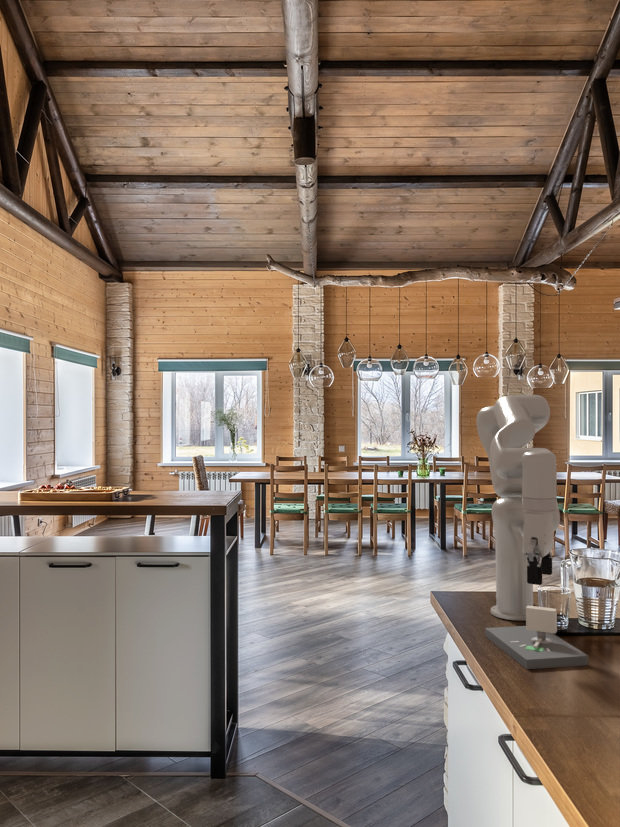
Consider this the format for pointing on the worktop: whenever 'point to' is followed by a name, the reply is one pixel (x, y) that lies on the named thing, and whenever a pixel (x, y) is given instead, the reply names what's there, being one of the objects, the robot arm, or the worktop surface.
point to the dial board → (545, 656)
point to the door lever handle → (541, 621)
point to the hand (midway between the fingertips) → (539, 578)
